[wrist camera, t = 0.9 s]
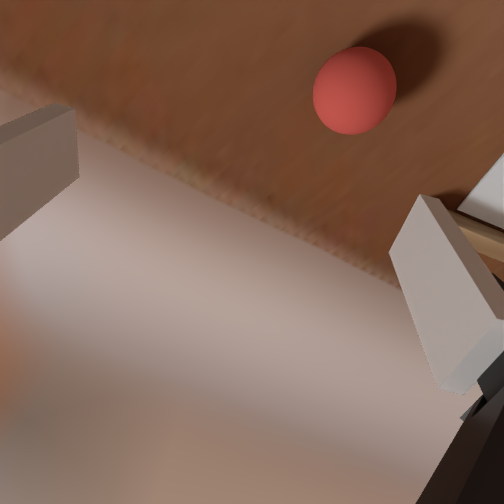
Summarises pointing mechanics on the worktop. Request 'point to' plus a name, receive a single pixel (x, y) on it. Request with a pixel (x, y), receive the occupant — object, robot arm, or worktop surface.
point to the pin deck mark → (488, 197)
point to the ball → (354, 90)
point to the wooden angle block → (481, 236)
